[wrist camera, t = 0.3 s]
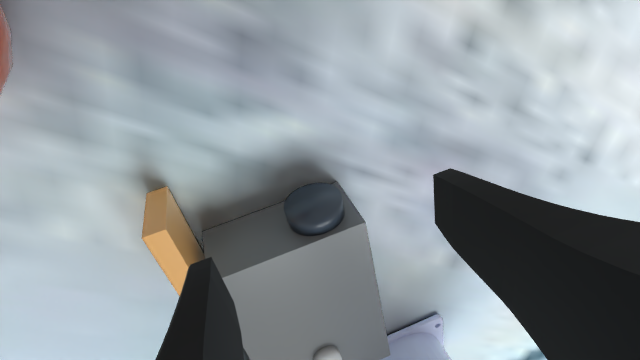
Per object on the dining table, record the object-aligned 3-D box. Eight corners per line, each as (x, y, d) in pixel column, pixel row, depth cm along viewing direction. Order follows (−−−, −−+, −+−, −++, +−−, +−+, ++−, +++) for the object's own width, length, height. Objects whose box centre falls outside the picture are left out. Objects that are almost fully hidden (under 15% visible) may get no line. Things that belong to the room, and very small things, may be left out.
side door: (258, 353, 27) (267, 401, 24) (242, 359, 27) (251, 408, 24) (167, 186, 19) (165, 229, 16) (144, 193, 19) (139, 239, 16)
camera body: (366, 309, 29) (394, 362, 25) (263, 352, 28) (277, 416, 24) (334, 167, 22) (367, 213, 18) (193, 218, 20) (197, 279, 17)
